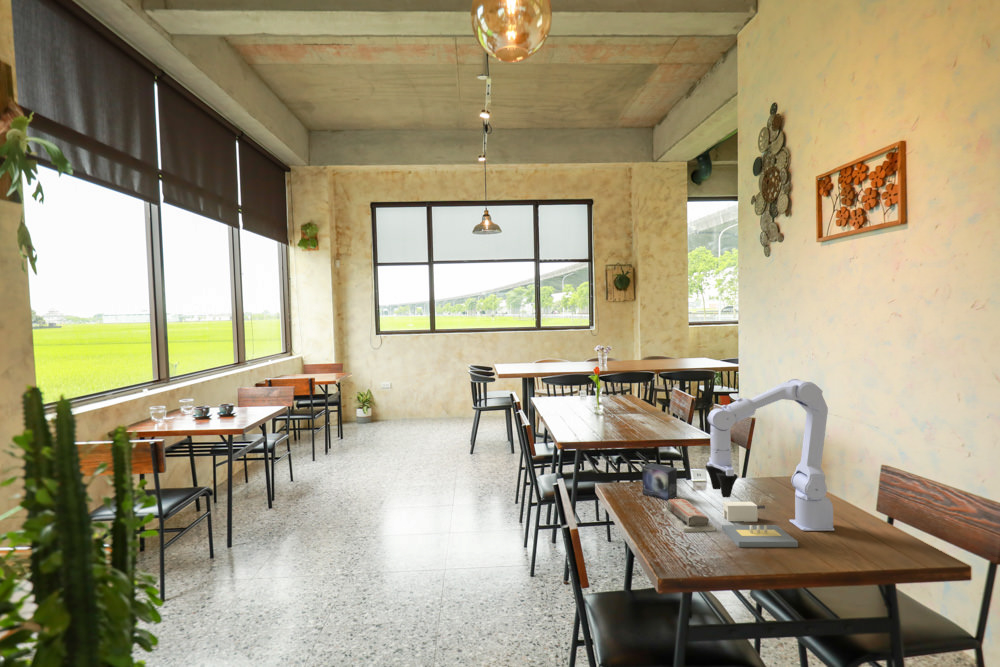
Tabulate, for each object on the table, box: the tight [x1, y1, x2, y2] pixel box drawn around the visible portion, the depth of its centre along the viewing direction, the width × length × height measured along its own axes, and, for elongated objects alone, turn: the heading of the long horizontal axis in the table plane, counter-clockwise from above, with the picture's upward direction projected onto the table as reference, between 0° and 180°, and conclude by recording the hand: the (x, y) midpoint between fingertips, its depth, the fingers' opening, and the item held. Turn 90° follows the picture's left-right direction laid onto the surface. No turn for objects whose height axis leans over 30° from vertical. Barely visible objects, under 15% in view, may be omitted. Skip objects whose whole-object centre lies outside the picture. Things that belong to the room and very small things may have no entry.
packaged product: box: [661, 498, 717, 533], centre depth 167 cm, size 18×5×10 cm
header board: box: [721, 524, 799, 548], centre depth 152 cm, size 16×12×4 cm
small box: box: [642, 462, 678, 502], centre depth 191 cm, size 11×6×10 cm, turn 43°
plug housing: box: [722, 501, 766, 522], centre depth 167 cm, size 12×4×5 cm, turn 88°
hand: (721, 492), depth 163 cm, fingers open, 7 cm apart
